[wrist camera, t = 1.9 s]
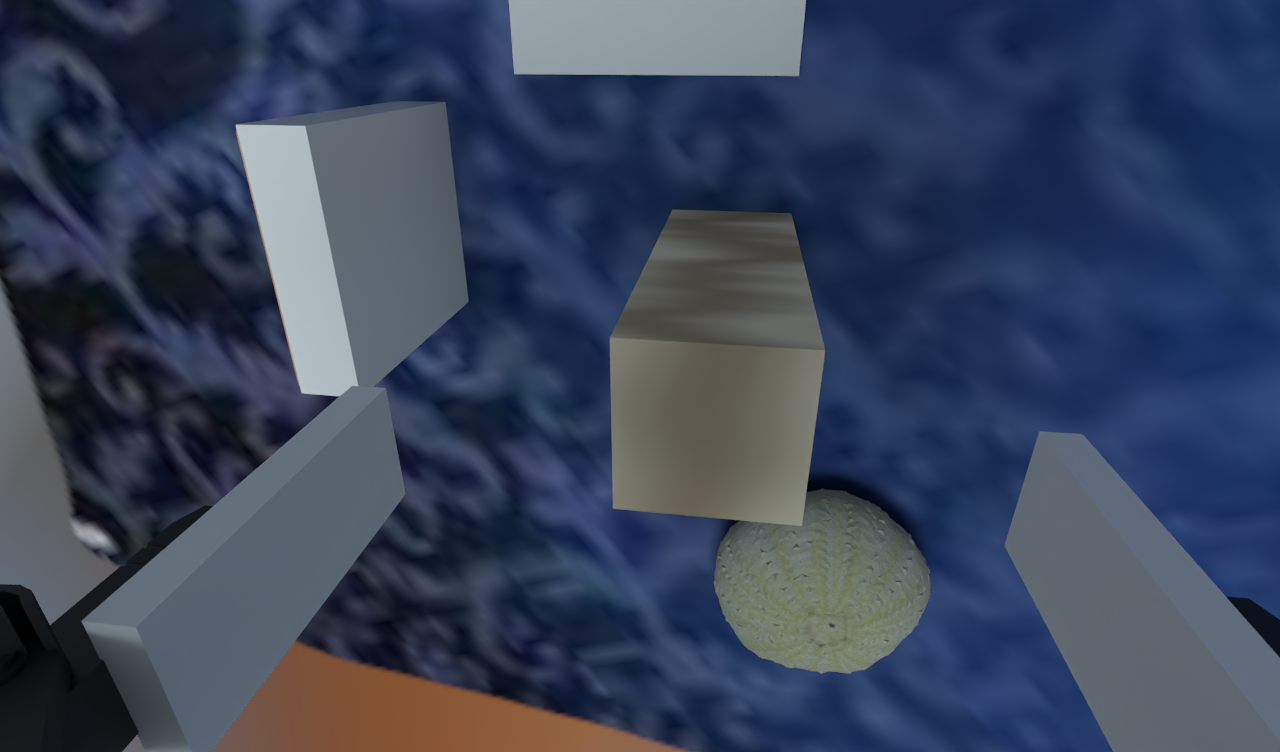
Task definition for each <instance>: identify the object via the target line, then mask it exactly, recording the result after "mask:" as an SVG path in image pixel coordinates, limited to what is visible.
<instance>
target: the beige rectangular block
mask: <svg viewBox="0 0 1280 752" xmlns="http://www.w3.org/2000/svg"><path fill="white" fill-rule="evenodd" d="M824 356H825V347H824V343H823V339H822V335H821V331H820V327H819V323H818V319H817V315H816V311H815V307H814V303H813V299H812V295H811V291H810V287H809V283H808V279H807V275H806V271H805V267H804V262H803V258H802V254H801V250H800V246H799V242H798V238H797V234H796V230H795V226H794V222H793V218H792V214H791V213H769V212H739V211H709V210H678V209H673V210H672V212H671V214H670V216H669V218H668V220H667V222H666V224H665V226H664V228H663V230H662V232H661V234H660V236H659V238H658V240H657V242H656V244H655V246H654V248H653V250H652V253H651V255H650V257H649V259H648V261H647V263H646V265H645V267H644V269H643V271H642V273H641V275H640V277H639V279H638V281H637V283H636V285H635V287H634V289H633V291H632V293H631V295H630V297H629V299H628V302H627V304H626V306H625V308H624V310H623V312H622V314H621V316H620V318H619V320H618V322H617V324H616V326H615V328H614V330H613V332H612V334H611V336H610V375H611V426H612V477H613V509H623V510H634V511H645V512H655V513H666V514H677V515H688V516H698V517H709V518H720V519H731V520H741V521H752V522H763V523H774V524H784V525H795V526H802V521H803V514H804V506H805V499H806V491H807V484H808V476H809V469H810V461H811V454H812V446H813V439H814V431H815V424H816V416H817V409H818V401H819V394H820V386H821V379H822V371H823V364H824Z"/></svg>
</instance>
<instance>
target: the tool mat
mask: <svg viewBox="0 0 1280 752" xmlns="http://www.w3.org/2000/svg"><path fill="white" fill-rule="evenodd" d="M805 7H806V0H509V10H510V23H511V37H512V51H513V64H514V74H573V75H718V76H799V69H800V59H801V48H802V38H803V27H804V17H805Z"/></svg>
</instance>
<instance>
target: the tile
mask: <svg viewBox="0 0 1280 752" xmlns="http://www.w3.org/2000/svg"><path fill="white" fill-rule="evenodd" d="M236 129H237V132H236V135H237V139H238V143H239V147H240V151H241V155H242V159H243V163H244V167H245V171H246V175H247V179H248V183H249V187H250V191H251V195H252V199H253V203H254V207H255V211H256V215H257V219H258V224H259V228H260V232H261V236H262V240H263V244H264V248H265V252H266V256H267V260H268V264H269V268H270V272H271V276H272V280H273V284H274V288H275V292H276V296H277V300H278V304H279V308H280V312H281V316H282V321H283V325H284V329H285V333H286V337H287V341H288V345H289V349H290V353H291V357H292V361H293V365H294V369H295V373H296V377H297V381H298V384H299V385H300V388H301V392H302V393H304V394H317V395H330V396H341V395H342V394H343V393H344V392H346V391H347V390H348V389H349V388H350V387H351V386H361V387H373V386H375V385H376V384H377V383H378V382H379V381H380V380H381V379H382V378H384V377H385V376H386V375H387V374H388V373H389V372H390V371H391V370H393V369H394V368H395V367H396V366H397V365H398V364H399V363H400V362H402V361H403V360H404V359H405V358H406V357H407V356H408V355H409V354H410V353H412V352H413V351H414V350H415V349H416V348H417V347H418V346H419V345H421V344H422V343H423V342H424V341H425V340H426V339H427V338H428V337H430V336H431V335H432V334H433V333H434V332H435V331H436V330H437V329H439V328H440V327H441V326H442V325H443V324H444V323H445V322H446V321H448V320H449V319H450V318H451V317H452V316H453V315H454V314H455V313H457V312H458V311H459V310H460V309H461V308H462V307H463V306H464V305H466V304H467V303H468V302H469V301H468V292H467V283H466V275H465V266H464V257H463V249H462V240H461V232H460V223H459V214H458V206H457V197H456V188H455V180H454V171H453V163H452V154H451V145H450V137H449V128H448V119H447V111H446V102H413V101H394V102H387V103H381V104H374V105H367V106H360V107H353V108H346V109H339V110H332V111H326V112H319V113H312V114H305V115H298V116H291V117H284V118H277V119H271V120H264V121H257V122H250V123H243V124H236Z"/></svg>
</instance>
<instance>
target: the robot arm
mask: <svg viewBox="0 0 1280 752" xmlns="http://www.w3.org/2000/svg"><path fill="white" fill-rule="evenodd" d="M404 495H405V490H404V484H403V479H402V474H401V468H400V463H399V457H398V452H397V447H396V441H395V436H394V430H393V425H392V420H391V414H390V409H389V404H388V398H387V393H386V388H376V387H361V386H351V387H350V388H349V389H348V390H347V391H346V392H344V393H343V394H342V395H341V396H340V397H339V398H337V399H336V400H335V401H334V402H333V403H332V404H331V405H329V406H328V407H327V408H326V409H325V410H324V411H322V412H321V413H320V414H319V415H318V416H317V417H316V418H314V419H313V420H312V421H311V422H310V423H309V424H308V425H306V426H305V427H304V428H303V429H302V430H301V431H299V432H298V433H297V434H296V435H295V436H294V437H293V438H291V439H290V440H289V441H288V442H287V443H286V444H284V445H283V446H282V447H281V448H280V449H279V450H278V451H276V452H275V453H274V454H273V455H272V456H271V457H270V458H268V459H267V460H266V461H265V462H264V463H263V464H261V465H260V466H259V467H258V468H257V469H256V470H255V471H253V472H252V473H251V474H250V475H249V476H248V477H247V478H245V479H244V480H243V481H242V482H241V483H240V484H238V485H237V486H236V487H235V488H234V489H233V490H232V491H230V492H229V493H228V494H227V495H226V496H225V497H223V498H222V499H221V500H220V501H219V502H218V503H217V504H215V505H214V506H203V507H202V508H200V509H198V510H196V511H194V512H192V513H190V514H188V515H187V516H185V517H183V518H181V519H179V520H177V521H175V522H173V523H172V524H171V525H170V526H168V527H167V528H166V529H165V530H164V531H162V532H161V533H160V534H159V535H158V536H156V537H155V538H154V539H153V540H152V541H150V542H149V543H148V544H147V545H148V546H147V548H146V549H145V548H142V549H141V550H140V551H138V552H137V553H136V554H135V555H134V556H133V557H131V558H130V559H129V560H128V561H127V564H126V566H121V567H119V568H118V569H117V570H116V571H115V572H114V573H112V574H111V575H110V576H109V577H108V578H106V579H105V580H104V581H103V582H101V583H100V584H99V585H98V586H97V587H96V588H94V589H93V590H92V591H91V592H90V593H88V594H87V595H86V596H85V597H84V598H82V599H81V600H80V601H79V602H77V603H76V604H75V605H74V606H73V607H72V608H70V609H69V610H68V611H67V612H66V613H65V614H63V615H62V616H61V617H60V618H58V619H57V620H56V621H55V622H54V623H52V624H51V625H49V623H48V621H47V619H46V617H45V615H44V613H43V612H42V610H41V608H40V606H39V604H38V602H37V600H36V598H35V596H34V594H33V592H32V591H31V590H29V589H27V588H25V587H23V586H21V585H0V752H122V751H123V750H124V749H125V748H126V747H127V745H128V744H129V743H130V742H131V741H132V740H133V739H134V737H135V736H136V735H138V737H139V739H140V741H141V743H142V745H143V747H144V749H145V751H146V752H212V751H213V749H214V748H215V747H216V745H217V744H218V742H219V741H220V740H221V738H222V737H223V736H224V735H225V733H226V732H227V731H228V729H229V728H230V727H231V725H232V724H233V723H234V721H235V720H236V719H237V717H238V716H239V715H240V713H241V712H242V711H243V709H244V708H245V707H246V705H247V704H248V703H249V701H250V700H251V699H252V697H253V696H254V695H255V693H256V692H257V691H258V689H259V688H260V687H261V685H262V684H263V683H264V681H265V680H266V679H267V677H268V676H269V675H270V673H271V672H272V671H273V669H274V668H275V667H276V665H277V664H278V663H279V661H280V660H281V659H282V657H283V656H284V655H285V653H286V652H287V651H288V650H289V648H290V647H291V646H292V644H293V643H294V642H295V640H296V639H297V638H298V636H299V635H300V634H301V632H302V631H303V630H304V628H305V627H306V626H307V624H308V623H309V622H310V620H311V619H312V618H313V616H314V615H315V614H316V612H317V611H318V610H319V608H320V607H321V606H322V604H323V603H324V602H325V600H326V599H327V598H328V596H329V595H330V594H331V592H332V591H333V590H334V588H335V587H336V586H337V584H338V583H339V582H340V580H341V579H342V578H343V576H344V575H345V574H346V572H347V571H348V570H349V568H350V567H351V566H352V564H353V563H354V562H355V560H356V559H357V558H358V556H359V555H360V554H361V552H362V551H363V550H364V549H365V547H366V546H367V545H368V543H369V542H370V541H371V539H372V538H373V537H374V535H375V534H376V533H377V531H378V530H379V529H380V527H381V526H382V525H383V523H384V522H385V521H386V519H387V518H388V517H389V515H390V514H391V513H392V511H393V510H394V509H395V507H396V506H397V505H398V503H399V502H400V501H401V499H402V498H403V497H404ZM1005 548H1006V549H1007V551H1008V553H1009V555H1010V557H1011V559H1012V561H1013V563H1014V565H1015V567H1016V568H1017V570H1018V572H1019V574H1020V576H1021V578H1022V580H1023V582H1024V584H1025V585H1026V587H1027V589H1028V591H1029V593H1030V595H1031V597H1032V599H1033V601H1034V603H1035V604H1036V606H1037V608H1038V610H1039V612H1040V614H1041V616H1042V618H1043V620H1044V621H1045V623H1046V625H1047V627H1048V629H1049V631H1050V633H1051V635H1052V637H1053V638H1054V640H1055V642H1056V644H1057V646H1058V648H1059V650H1060V652H1061V654H1062V656H1063V657H1064V659H1065V661H1066V663H1067V665H1068V667H1069V669H1070V671H1071V673H1072V674H1073V676H1074V678H1075V680H1076V682H1077V684H1078V686H1079V688H1080V690H1081V692H1082V693H1083V695H1084V697H1085V699H1086V701H1087V703H1088V705H1089V707H1090V709H1091V710H1092V712H1093V714H1094V716H1095V718H1096V720H1097V722H1098V724H1099V726H1100V727H1101V729H1102V731H1103V733H1104V735H1105V737H1106V739H1107V741H1108V743H1109V745H1110V746H1111V748H1112V750H1113V752H1280V620H1279V619H1278V618H1276V617H1275V616H1273V615H1272V614H1270V613H1269V612H1267V611H1266V610H1265V609H1263V608H1262V607H1260V606H1259V605H1257V604H1256V603H1254V602H1253V601H1252V600H1250V599H1247V598H1236V597H1226V596H1225V595H1224V594H1223V593H1222V592H1221V591H1220V589H1219V588H1218V587H1217V586H1216V585H1215V584H1214V583H1213V582H1212V580H1211V579H1210V578H1209V577H1208V576H1207V575H1206V574H1205V572H1204V571H1203V570H1202V569H1201V568H1200V567H1199V566H1198V565H1197V563H1196V562H1195V561H1194V560H1193V559H1192V558H1191V557H1190V555H1189V554H1188V553H1187V552H1186V551H1185V550H1184V549H1183V548H1182V546H1181V545H1180V544H1179V543H1178V542H1177V541H1176V540H1175V538H1174V537H1173V536H1172V535H1171V534H1170V533H1169V532H1168V531H1167V529H1166V528H1165V527H1164V526H1163V525H1162V524H1161V523H1160V521H1159V520H1158V519H1157V518H1156V517H1155V516H1154V515H1153V514H1152V512H1151V511H1150V510H1149V509H1148V508H1147V507H1146V506H1145V504H1144V503H1143V502H1142V501H1141V500H1140V499H1139V498H1138V497H1137V495H1136V494H1135V493H1134V492H1133V491H1132V490H1131V489H1130V487H1129V486H1128V485H1127V484H1126V483H1125V482H1124V481H1123V480H1122V478H1121V477H1120V476H1119V475H1118V474H1117V473H1116V472H1115V470H1114V469H1113V468H1112V467H1111V466H1110V465H1109V464H1108V463H1107V461H1106V460H1105V459H1104V458H1103V457H1102V456H1101V455H1100V453H1099V452H1098V451H1097V450H1096V449H1095V448H1094V447H1093V446H1092V444H1091V443H1090V442H1089V441H1088V440H1087V439H1086V438H1085V436H1084V435H1083V434H1072V433H1057V432H1042V431H1039V434H1038V437H1037V441H1036V444H1035V447H1034V450H1033V454H1032V457H1031V460H1030V464H1029V467H1028V470H1027V473H1026V477H1025V480H1024V483H1023V487H1022V490H1021V493H1020V496H1019V500H1018V503H1017V506H1016V509H1015V513H1014V516H1013V519H1012V523H1011V526H1010V529H1009V532H1008V536H1007V539H1006V542H1005Z"/></svg>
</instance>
